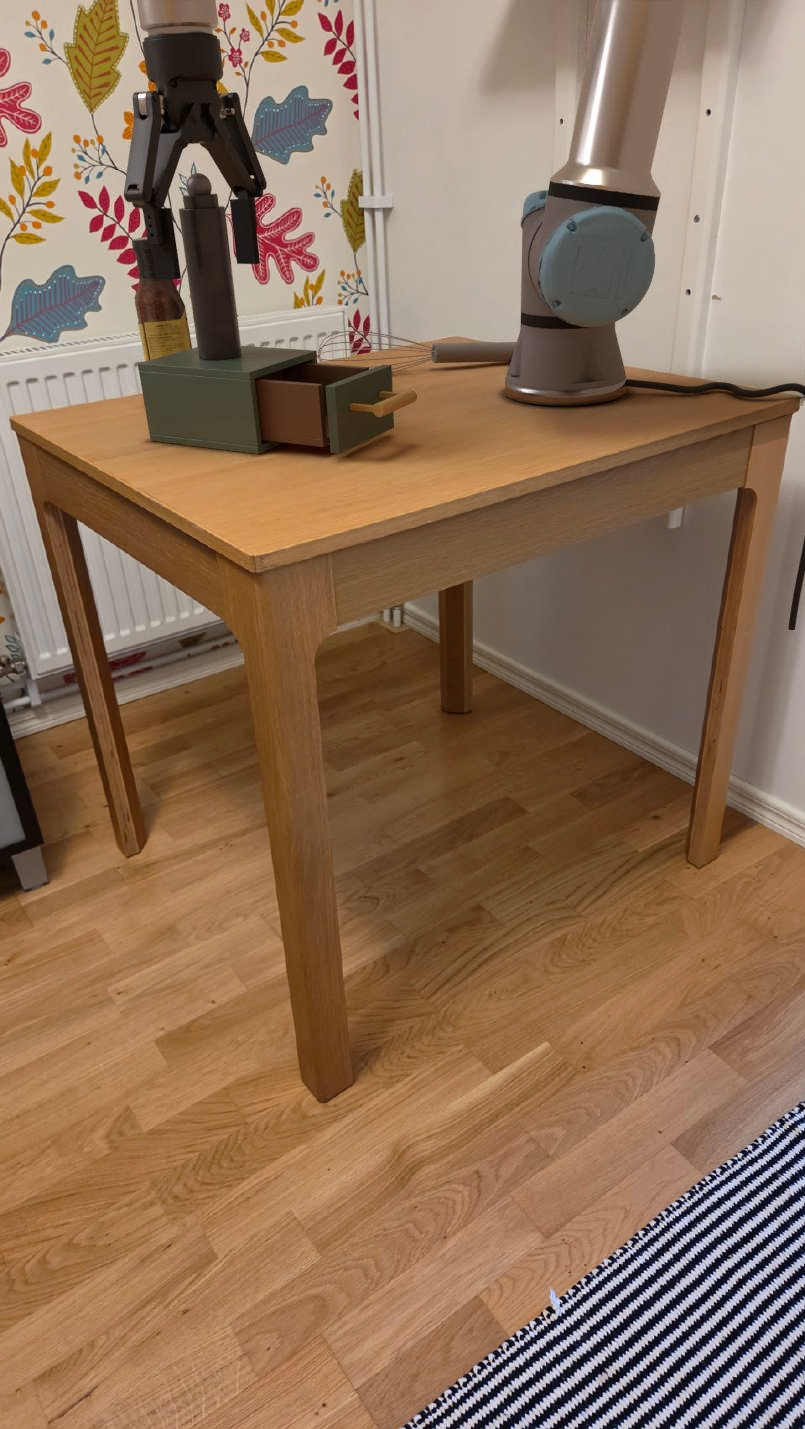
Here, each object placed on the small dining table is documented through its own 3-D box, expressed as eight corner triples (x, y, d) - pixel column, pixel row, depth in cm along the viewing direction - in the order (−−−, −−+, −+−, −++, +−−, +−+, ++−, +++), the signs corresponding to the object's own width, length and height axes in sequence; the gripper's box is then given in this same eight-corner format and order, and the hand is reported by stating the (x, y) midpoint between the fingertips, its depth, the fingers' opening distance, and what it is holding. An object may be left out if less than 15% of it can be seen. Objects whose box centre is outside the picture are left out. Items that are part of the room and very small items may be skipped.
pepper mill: (250, 353, 112) (229, 171, 103) (223, 361, 109) (200, 173, 100) (217, 351, 115) (194, 172, 105) (190, 359, 111) (164, 174, 102)
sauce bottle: (210, 401, 131) (187, 235, 121) (171, 411, 127) (145, 240, 117) (180, 395, 135) (155, 234, 125) (141, 404, 131) (113, 239, 121)
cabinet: (322, 426, 117) (316, 350, 112) (258, 454, 107) (249, 372, 103) (218, 416, 124) (209, 343, 119) (150, 441, 114) (137, 363, 110)
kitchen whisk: (551, 363, 144) (552, 317, 141) (323, 386, 137) (319, 338, 134) (535, 356, 149) (536, 311, 146) (315, 378, 142) (311, 332, 139)
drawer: (428, 431, 109) (426, 367, 106) (375, 458, 101) (371, 390, 98) (289, 417, 118) (283, 357, 114) (229, 441, 109) (221, 377, 106)
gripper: (229, 43, 108) (252, 257, 118) (56, 30, 89) (102, 285, 100) (285, 37, 104) (304, 258, 115) (118, 22, 86) (159, 287, 96)
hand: (210, 271), depth 107 cm, fingers open, 13 cm apart
